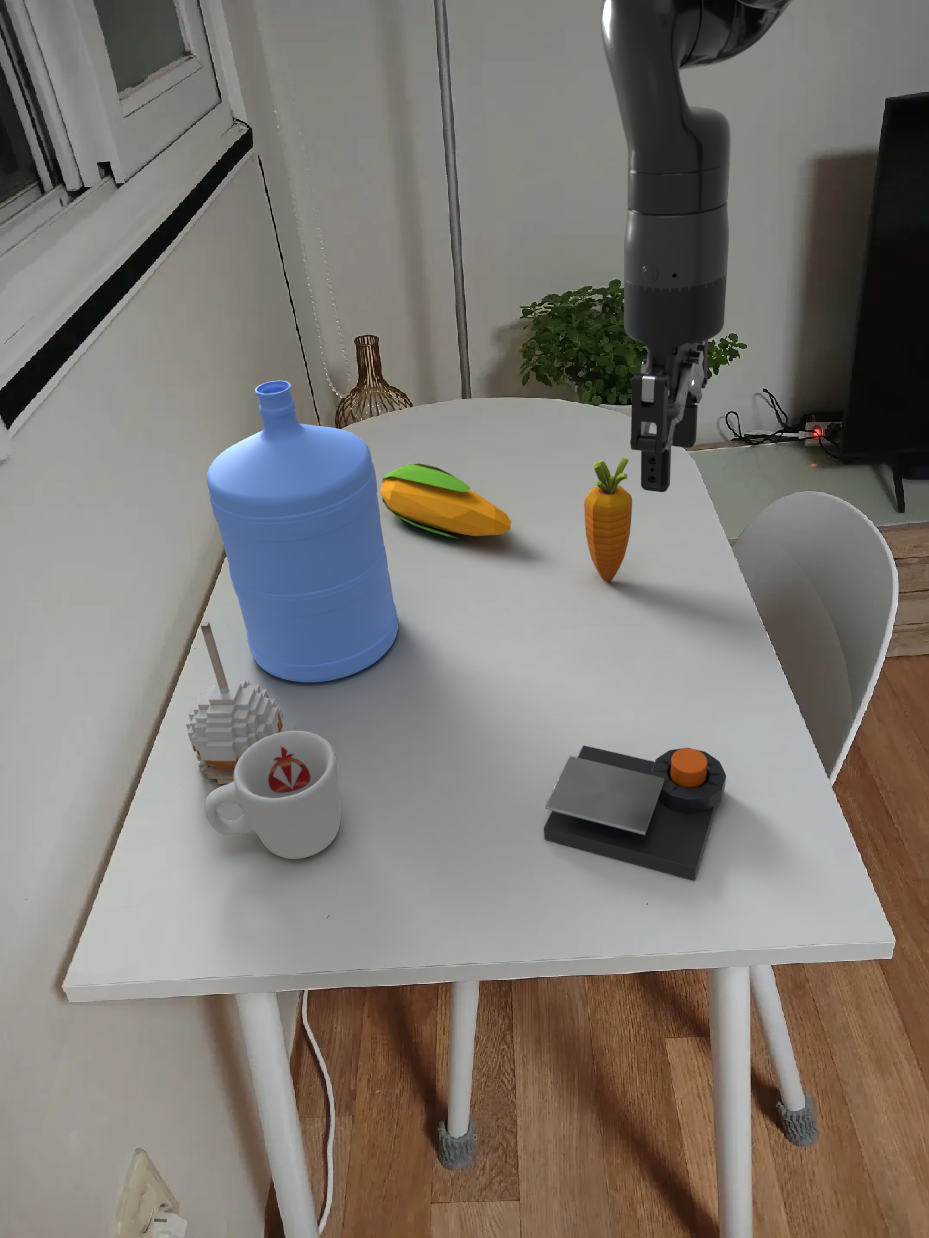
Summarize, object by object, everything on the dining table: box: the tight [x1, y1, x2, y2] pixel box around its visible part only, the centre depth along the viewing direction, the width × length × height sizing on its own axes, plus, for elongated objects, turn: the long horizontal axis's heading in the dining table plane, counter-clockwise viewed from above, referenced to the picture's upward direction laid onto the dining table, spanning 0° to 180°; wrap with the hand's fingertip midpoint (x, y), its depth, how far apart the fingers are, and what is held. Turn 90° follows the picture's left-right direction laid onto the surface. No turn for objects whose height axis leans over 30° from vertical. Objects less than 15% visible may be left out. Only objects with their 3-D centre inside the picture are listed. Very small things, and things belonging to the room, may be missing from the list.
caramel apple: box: [185, 621, 284, 784], centre depth 82 cm, size 8×8×15 cm
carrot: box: [583, 457, 633, 584], centre depth 101 cm, size 5×5×15 cm
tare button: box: [670, 747, 707, 788], centre depth 76 cm, size 3×3×2 cm
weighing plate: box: [544, 755, 665, 835], centre depth 75 cm, size 8×6×1 cm
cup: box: [204, 730, 342, 860], centre depth 76 cm, size 11×8×8 cm
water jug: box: [206, 380, 399, 683], centre depth 92 cm, size 16×16×28 cm
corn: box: [379, 463, 512, 540], centre depth 115 cm, size 7×8×20 cm
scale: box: [543, 745, 727, 881], centre depth 77 cm, size 12×11×3 cm
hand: (669, 466), depth 80 cm, fingers open, 8 cm apart
